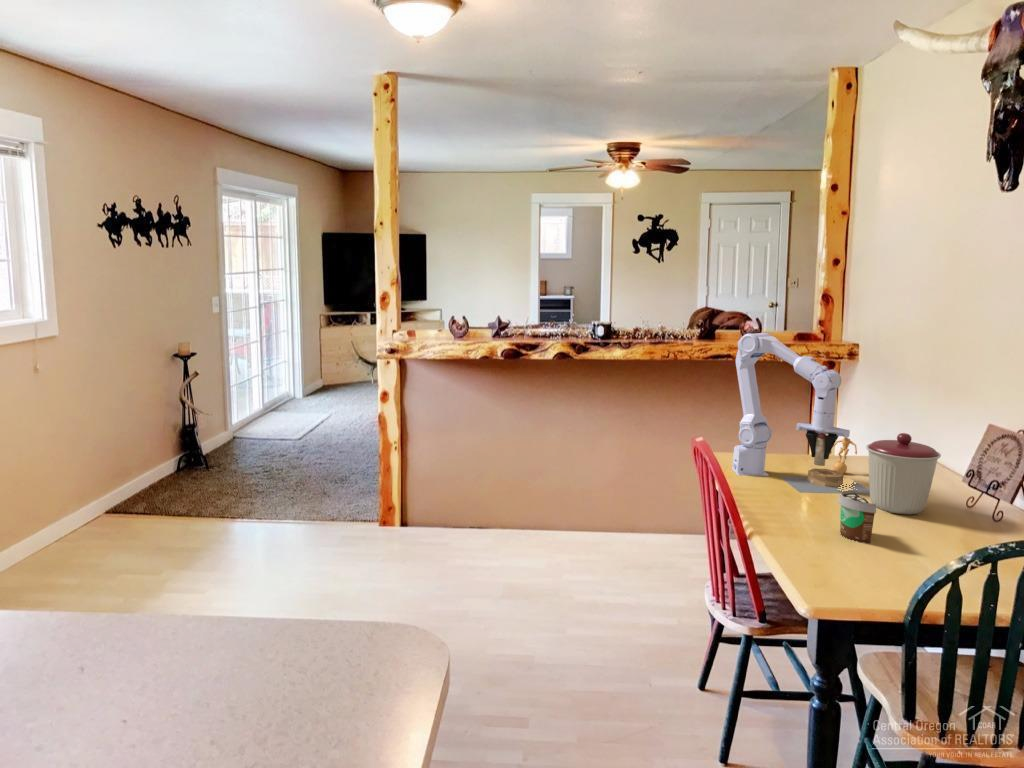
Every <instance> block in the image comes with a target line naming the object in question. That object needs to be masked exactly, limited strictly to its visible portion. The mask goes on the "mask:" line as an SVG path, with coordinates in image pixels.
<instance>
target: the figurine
mask: <svg viewBox="0 0 1024 768" xmlns="http://www.w3.org/2000/svg"><path fill="white" fill-rule="evenodd" d="M838 443H841V444H842V447H840V449H839V451H838V454H837V455H838V456H839V459H838V461H837V462H836V463H835V464H833V469H832V470H834V471H839V472H840V473H842V474H843V475H845V474H846V472H847V471H848V468H847V467H848V466H847V465H846V464H845V462H846V459H847V455H848V453H849V451H850V449H849V446H850V445H852V446H854V454H855V455H857V454H858V448H857V444H856V443H854V441H852V440H851V439H850V438H849V437H848V438H847V437H843V438H842V439H838V440H836V442H835V443H834V445H833V447H832V449H833V448H834V447H835V446H837V444H838ZM832 449H831V451H832ZM841 454H843V458H844V459H843V461H842V455H841Z"/></svg>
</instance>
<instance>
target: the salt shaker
mask: <svg viewBox="0 0 1024 768" xmlns="http://www.w3.org/2000/svg"><path fill="white" fill-rule="evenodd" d="M825 436H827V434H823V433H819V434H818V437H816V447H815V457H813V458H814V461H813V465H814V466H818V467H824V466H826V459H824V455H825V444H826V442H825Z"/></svg>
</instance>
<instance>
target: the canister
mask: <svg viewBox="0 0 1024 768" xmlns="http://www.w3.org/2000/svg"><path fill="white" fill-rule="evenodd" d="M865 448H866V450H867V451H868V483H869V484H868V486H869V487H868V488H869V489H868V490H870V494H869V498H870V501H871V502H870V503H872V504H876V509H880V510H882V511H885V512H889V513H891V514H896V515H897V514H898V515H899V514H900V515H916V514H919V513H921V512H923V510H924V509H925V508H926V505H927V503H928V499H929V497H930V496H929V495H930V492H931V487H932V484H933V479H934V476H935V472H936V468H937V463H938V459H940V458H941V457H942V455H941V454H942V453H940V452H939V451H937V450H936V449H935V448H933V447H932V446H929V445H926V444H923V443H920V442H919V443H918V442H914V441H912V436H911V434H909V433H905V432H901V433H899V434H897V436H896V439H883V440H882V439H880V440H876V441H873V442H872V443H868V444H866V447H865Z"/></svg>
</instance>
